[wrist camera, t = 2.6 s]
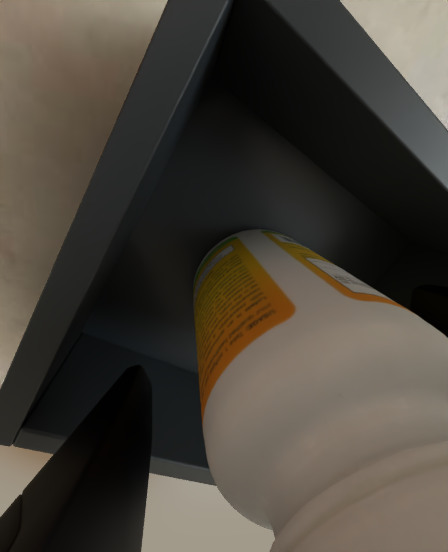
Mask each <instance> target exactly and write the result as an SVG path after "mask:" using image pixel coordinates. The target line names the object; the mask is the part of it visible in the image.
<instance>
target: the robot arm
mask: <svg viewBox="0 0 448 552" xmlns="http://www.w3.org/2000/svg"><path fill="white" fill-rule="evenodd" d="M410 311H411V312H413V313H415V314H416V315H418V316H419V317H420V318H422V319H423V320H424V321H426V322H427V323H429V324H430V325H432V326H433V327H434V328H436V329H437V330H439V331H440V332H441V333H443V334H444V335H445V336H446V337H447V338H448V287H444V286H437V285H430V284H425V285H421V286H418V287H415V288H414V289H413V290H412V293H411V302H410ZM151 450H152V385H151V382H150V380H149V378H148V376H147V374H146V372H145V369H144V367H143V366H142V365H140V364H138V365H135V366H131V367H128V368H127V369H126V370H125V371H124V372H123V373H122V375H121V376H120V377H119V378H118V379H117V381H116V382H115V383H114V384H113V385H112V386H111V388H110V389H109V390H108V391H107V392H106V393H105V395H104V396H103V397H102V398H101V399H100V401H99V402H98V403H97V404H96V405H95V406H94V408H93V409H92V410H91V411H90V412H89V414H88V415H87V416H86V417H85V418H84V419H83V421H82V422H81V423H80V424H79V425H78V426H77V428H76V429H75V430H74V431H73V432H72V434H71V435H70V436H69V437H68V438H67V439H66V441H65V442H64V443H63V444H62V445H61V447H60V448H59V449H58V450H57V451H56V452H55V454H54V455H53V456H52V457H51V458H50V460H49V461H48V462H47V463H46V464H45V465H44V467H43V468H42V469H41V470H40V471H39V472H38V474H37V475H36V476H35V477H34V479H33V480H32V481H31V482H30V483H29V484H28V485H27V487H26V488H25V489H24V490H23V493H22V495H19V496H18V497H17V499H15V501H14V502H13V503H12V504H11V506H10V507H9V508H8V509H7V510H6V511H5V512H4V514H3V515H2V516H1V517H0V552H141V547H142V537H143V526H144V518H145V508H146V498H147V489H148V479H149V469H150V460H151Z"/></svg>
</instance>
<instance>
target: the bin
mask: <svg viewBox="0 0 448 552" xmlns="http://www.w3.org/2000/svg"><path fill="white" fill-rule="evenodd" d="M252 229H266V230H271V231H275V232H279V233H281V234H284V235H286V236H288V237H290V238H292V239H293V240H295V241H297V242H299V243H300V244H302V245H303V246H305V247H307V248H308V249H310V250H311V251H313V252H315V253H316V254H318V255H320V256H321V257H323V258H325V259H326V260H328V261H329V262H331V263H333V264H334V265H336V266H338V267H339V268H341V269H343V270H345V271H346V272H348V273H349V274H351V275H352V276H354V277H355V278H357V279H359V280H360V281H362V282H364V283H365V284H367V285H369V286H370V287H372V288H373V289H375V290H377V291H378V292H380V293H382V294H383V295H385V296H386V297H388V298H390V299H391V300H393V301H394V302H396V303H398V304H400V305H401V306H403V307H405V308H407V309H408V310H410V302H411V293H412V290H413V289H414V288H415V287H418V286H421V285H425V284H430V285H437V286H444V287H448V130H447V129H446V128H445V127H444V125H443V124H442V123H441V122H440V121H439V119H438V118H437V117H436V116H435V115H434V113H433V112H432V111H431V110H430V109H429V107H428V106H427V105H426V104H425V103H424V101H423V100H422V99H421V98H420V97H419V95H418V94H417V93H416V92H415V91H414V89H413V88H412V87H411V86H410V85H409V83H408V82H407V81H406V80H405V79H404V77H403V76H402V75H401V74H400V73H399V71H398V70H397V69H396V68H395V67H394V65H393V64H392V63H391V62H390V61H389V59H388V58H387V57H386V56H385V55H384V53H383V52H382V51H381V50H380V49H379V47H378V46H377V45H376V44H375V43H374V41H373V40H372V39H371V38H370V37H369V35H368V34H367V33H366V32H365V31H364V29H363V28H362V27H361V26H360V25H359V23H358V22H357V21H356V20H355V19H354V17H353V16H352V15H351V14H350V13H349V11H348V10H347V9H346V8H345V7H344V5H343V4H342V3H341V2H340V1H339V0H168V2H167V4H166V6H165V8H164V11H163V13H162V15H161V18H160V20H159V22H158V25H157V27H156V29H155V32H154V34H153V36H152V39H151V41H150V43H149V46H148V48H147V50H146V53H145V55H144V57H143V59H142V62H141V64H140V66H139V69H138V71H137V73H136V76H135V78H134V80H133V83H132V85H131V87H130V90H129V92H128V94H127V97H126V99H125V101H124V104H123V106H122V108H121V111H120V113H119V115H118V117H117V120H116V122H115V124H114V127H113V129H112V131H111V134H110V136H109V138H108V141H107V143H106V145H105V148H104V150H103V152H102V155H101V157H100V159H99V162H98V164H97V166H96V168H95V171H94V173H93V175H92V178H91V180H90V182H89V185H88V187H87V189H86V192H85V194H84V196H83V199H82V201H81V203H80V206H79V208H78V210H77V213H76V215H75V217H74V219H73V222H72V224H71V226H70V229H69V231H68V233H67V236H66V238H65V240H64V243H63V245H62V247H61V250H60V252H59V254H58V257H57V259H56V261H55V264H54V266H53V268H52V270H51V273H50V275H49V277H48V280H47V282H46V284H45V287H44V289H43V291H42V294H41V296H40V298H39V301H38V303H37V305H36V308H35V310H34V312H33V315H32V317H31V319H30V321H29V324H28V326H27V328H26V331H25V333H24V335H23V338H22V340H21V342H20V345H19V347H18V349H17V352H16V354H15V356H14V359H13V361H12V363H11V366H10V368H9V370H8V372H7V375H6V377H5V379H4V382H3V384H2V386H1V389H0V445H4V446H11V445H12V444H13V445H14V446H15V447H19V448H24V449H30V450H35V451H40V452H45V453H50V454H55V452H56V451H57V450H58V449H59V448H60V447H61V445H62V444H63V443H64V442H65V441H66V439H67V438H68V437H69V436H70V435H71V434H72V432H73V431H74V430H75V429H76V428H77V426H78V425H79V424H80V423H81V422H82V421H83V419H84V418H85V417H86V416H87V415H88V414H89V412H90V411H91V410H92V409H93V408H94V406H95V405H96V404H97V403H98V402H99V401H100V399H101V398H102V397H103V396H104V395H105V393H106V392H107V391H108V390H109V389H110V388H111V386H112V385H113V384H114V383H115V382H116V381H117V379H118V378H119V377H120V376H121V375H122V373H123V372H124V371H125V370H126V369H127V368H128V367H131V366H135V365H138V364H140V365H142V366H143V367H144V369H145V372H146V374H147V376H148V378H149V380H150V382H151V385H152V450H151V460H150V469H149V473H153V474H158V475H163V476H169V477H173V478H178V479H184V480H189V481H194V482H199V483H204V484H209V485H215V486H216V484H215V482H214V479H213V477H212V474H211V472H210V468H209V465H208V461H207V456H206V449H205V441H204V436H203V427H202V416H201V402H200V391H199V372H198V358H197V345H196V331H195V318H194V306H193V285H194V279H195V275H196V272H197V269H198V267H199V265H200V263H201V262H202V260H203V258H204V257H205V256H206V254H207V253H208V252H209V251H210V250H211V249H212V248H213V247H214V246H215V245H217V244H218V243H219V242H220V241H222V240H223V239H225V238H227V237H229V236H231V235H233V234H235V233H238V232H241V231H245V230H252ZM13 442H14V443H13Z"/></svg>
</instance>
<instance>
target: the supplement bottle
mask: <svg viewBox="0 0 448 552" xmlns="http://www.w3.org/2000/svg"><path fill="white" fill-rule="evenodd" d="M193 306H194V318H195V331H196V345H197V358H198V372H199V391H200V402H201V416H202V427H203V436H204V441H205V449H206V456H207V461H208V465H209V468H210V472H211V474H212V477H213V479H214V482H215V484H216V486H217V488H218V489H219V491H220V492H221V494H222V495H223V496H224V498H225V499H226V500H227V501H228V502H229V503H230V504H231V506H233V508H234V509H236V510H237V511H238V512H239V513H240V514H242V515H243V516H244V517H246V518H247V519H249V520H250V521H252V522H254V523H256V524H258V525H260V526H262V527H264V528H267V529H271V530H273V532H274V536H275V541H274V542H273V545H272V548H271V550H270V552H448V338H447V337H446V336H445V335H444V334H443V333H441V332H440V331H439V330H437V329H436V328H434V327H433V326H432V325H430V324H429V323H427V322H426V321H424V320H423V319H422V318H420V317H419V316H418V315H416V314H415V313H413V312H411V311H410V310H408V309H407V308H405V307H403V306H401V305H400V304H398V303H396V302H394V301H393V300H391V299H390V298H388V297H386V296H385V295H383V294H382V293H380V292H378V291H377V290H375V289H373V288H372V287H370V286H369V285H367V284H365V283H364V282H362V281H360V280H359V279H357V278H355V277H354V276H352V275H351V274H349V273H348V272H346V271H345V270H343V269H341V268H339V267H338V266H336V265H334V264H333V263H331V262H329V261H328V260H326V259H325V258H323V257H321V256H320V255H318V254H316V253H315V252H313V251H311V250H310V249H308V248H307V247H305V246H303V245H302V244H300V243H299V242H297V241H295V240H293V239H292V238H290V237H288V236H286V235H284V234H281V233H279V232H275V231H271V230H266V229H252V230H245V231H241V232H238V233H235V234H233V235H231V236H229V237H227V238H225V239H223V240H222V241H220V242H219V243H218V244H217V245H215V246H214V247H213V248H212V249H211V250H210V251H209V252H208V253H207V254H206V256H205V257H204V258H203V260H202V262H201V263H200V265H199V267H198V269H197V272H196V275H195V279H194V285H193Z"/></svg>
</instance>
